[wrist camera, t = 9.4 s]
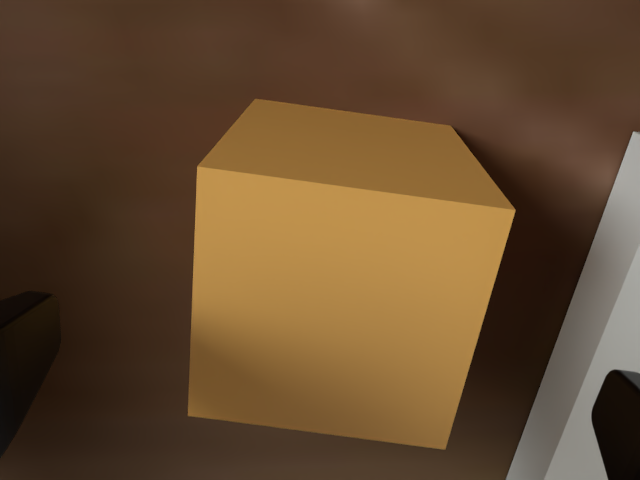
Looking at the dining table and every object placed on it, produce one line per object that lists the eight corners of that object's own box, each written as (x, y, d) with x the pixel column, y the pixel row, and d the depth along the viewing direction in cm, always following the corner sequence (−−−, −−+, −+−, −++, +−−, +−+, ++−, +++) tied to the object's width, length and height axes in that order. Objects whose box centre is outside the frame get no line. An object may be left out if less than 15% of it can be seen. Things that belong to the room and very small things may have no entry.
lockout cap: (412, 294, 16) (445, 449, 11) (242, 271, 16) (187, 415, 11) (450, 125, 14) (516, 209, 9) (255, 98, 14) (197, 166, 9)
